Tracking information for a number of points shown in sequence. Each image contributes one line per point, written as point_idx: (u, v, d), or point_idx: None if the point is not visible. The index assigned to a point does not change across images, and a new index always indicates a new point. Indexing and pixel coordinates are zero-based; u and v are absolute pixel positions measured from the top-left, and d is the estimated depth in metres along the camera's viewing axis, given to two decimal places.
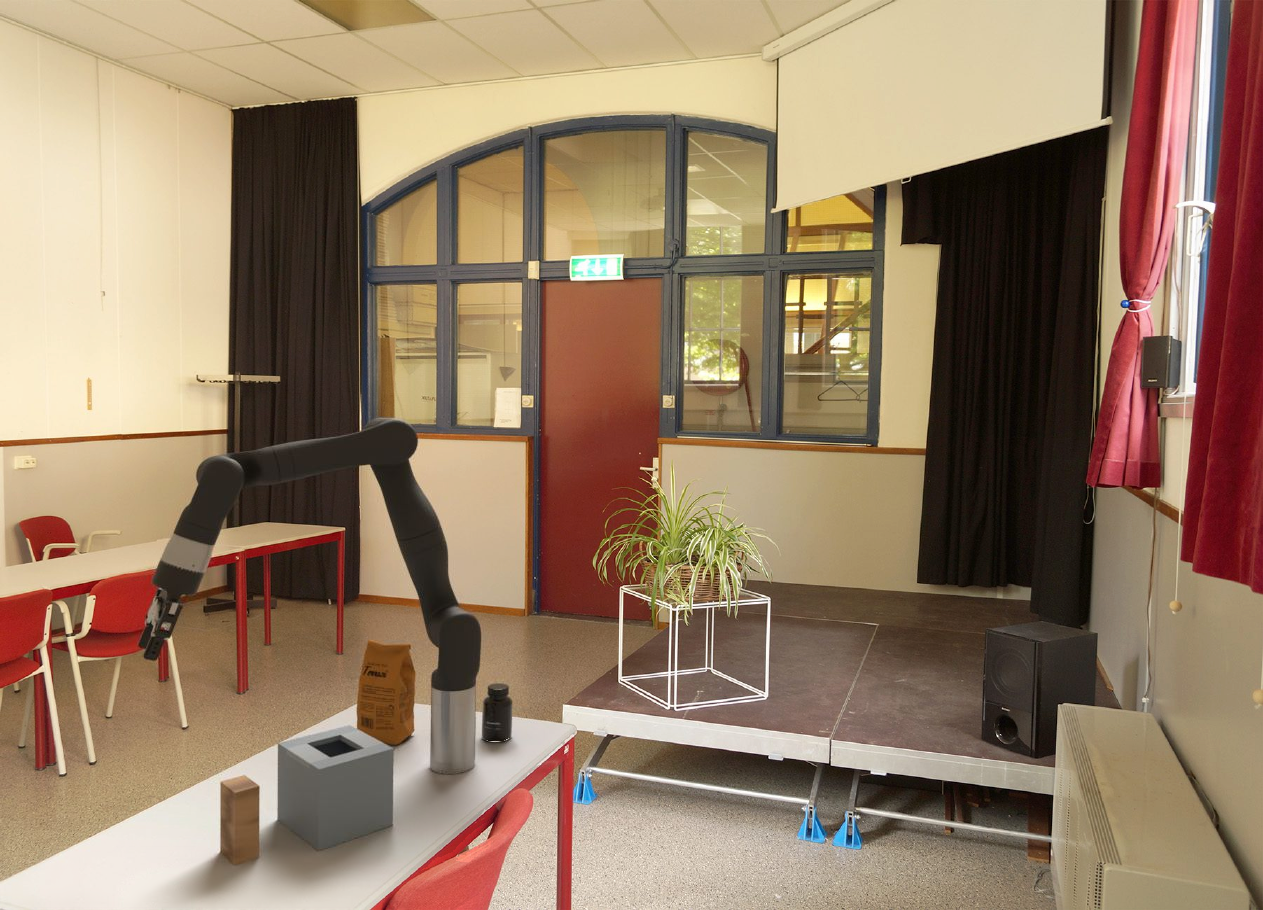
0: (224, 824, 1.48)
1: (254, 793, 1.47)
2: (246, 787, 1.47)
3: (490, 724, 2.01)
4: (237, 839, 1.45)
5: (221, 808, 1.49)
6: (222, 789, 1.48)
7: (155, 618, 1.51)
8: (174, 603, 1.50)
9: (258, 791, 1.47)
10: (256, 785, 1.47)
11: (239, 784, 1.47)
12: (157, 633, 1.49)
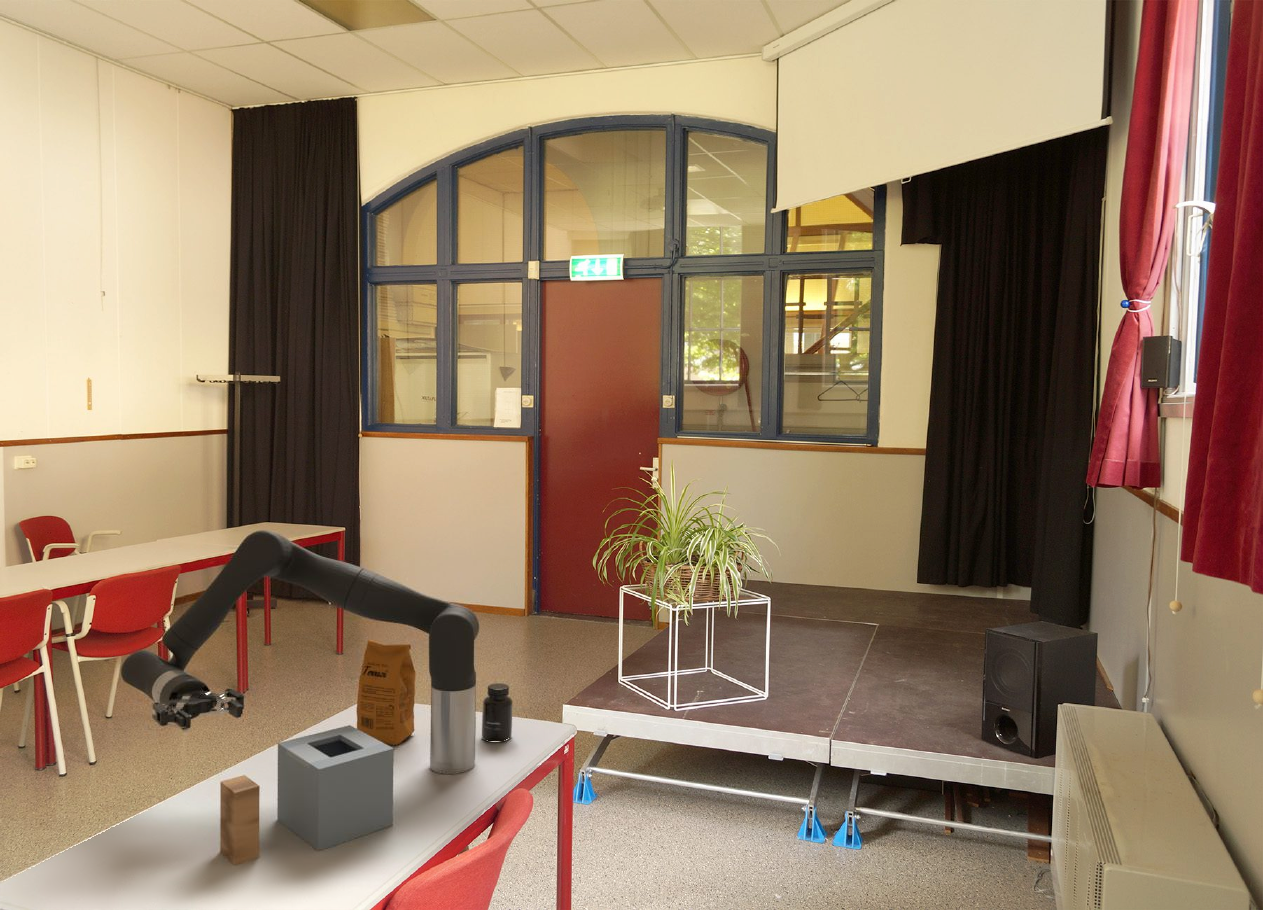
0: (224, 824, 1.48)
1: (254, 793, 1.47)
2: (246, 787, 1.47)
3: (490, 724, 2.01)
4: (237, 839, 1.45)
5: (221, 808, 1.49)
6: (222, 789, 1.48)
7: None
8: None
9: (258, 791, 1.47)
10: (256, 785, 1.47)
11: (239, 785, 1.47)
12: (160, 723, 1.54)
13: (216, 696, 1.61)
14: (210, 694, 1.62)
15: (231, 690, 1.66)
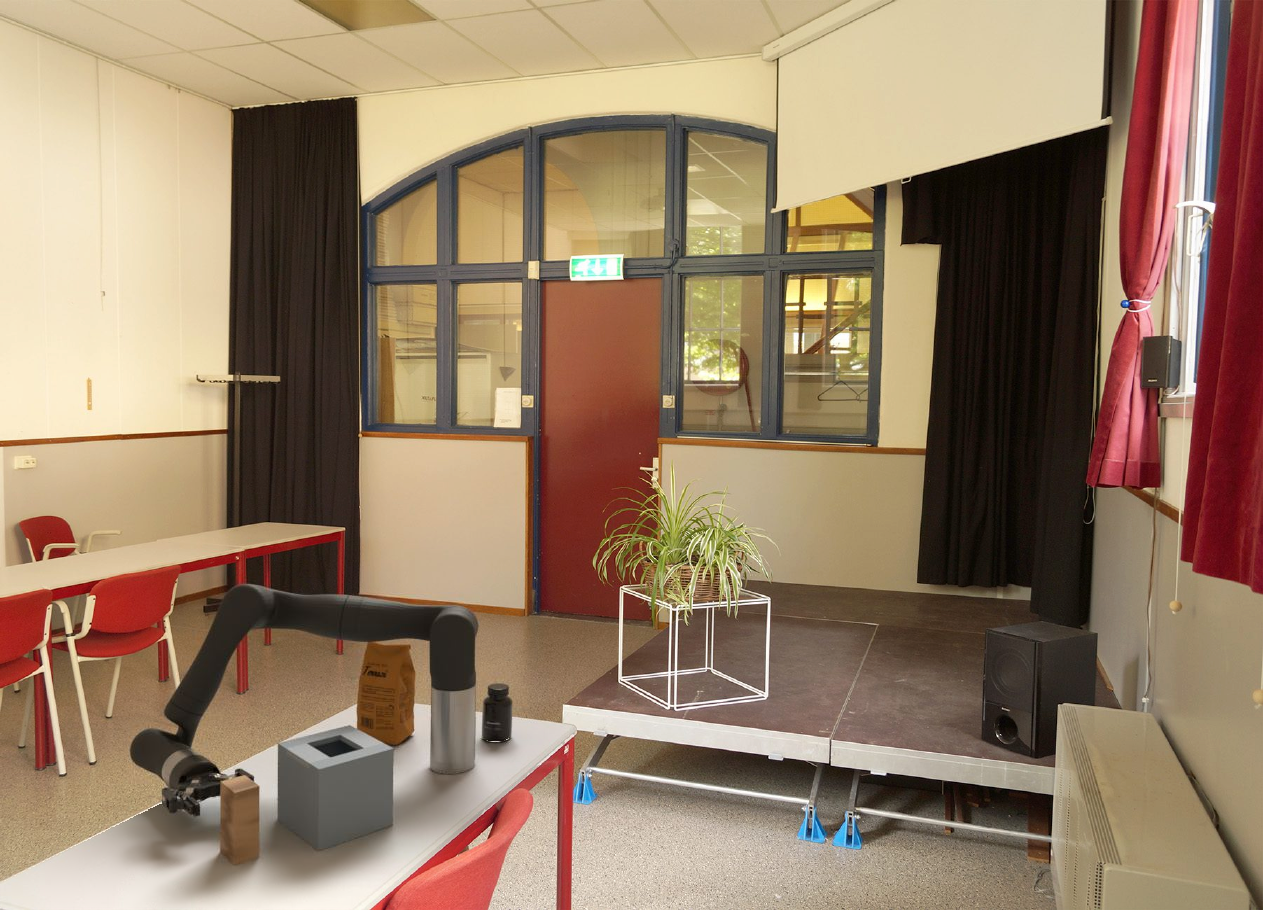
0: (224, 824, 1.48)
1: (254, 793, 1.47)
2: (246, 787, 1.47)
3: (490, 724, 2.01)
4: (237, 839, 1.45)
5: (221, 808, 1.49)
6: (222, 789, 1.48)
7: None
8: (162, 796, 1.55)
9: (258, 791, 1.47)
10: (256, 785, 1.47)
11: (239, 785, 1.47)
12: (170, 811, 1.52)
13: (226, 779, 1.59)
14: (220, 777, 1.60)
15: (241, 770, 1.64)
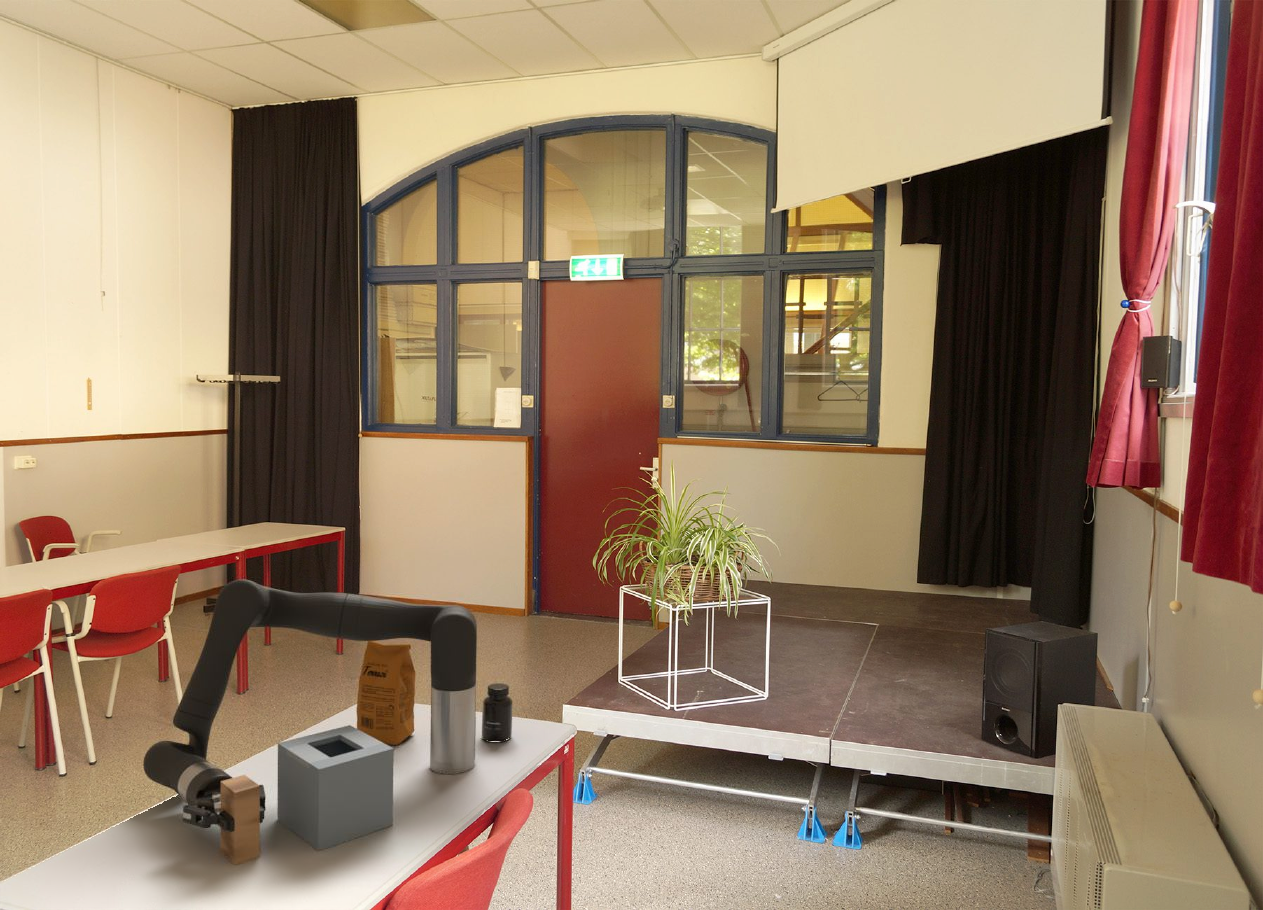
0: None
1: (254, 792, 1.47)
2: (246, 787, 1.47)
3: (490, 724, 2.01)
4: (238, 839, 1.45)
5: None
6: (222, 789, 1.48)
7: None
8: None
9: (258, 791, 1.47)
10: (256, 785, 1.47)
11: (239, 784, 1.47)
12: (203, 826, 1.46)
13: None
14: None
15: (261, 787, 1.57)
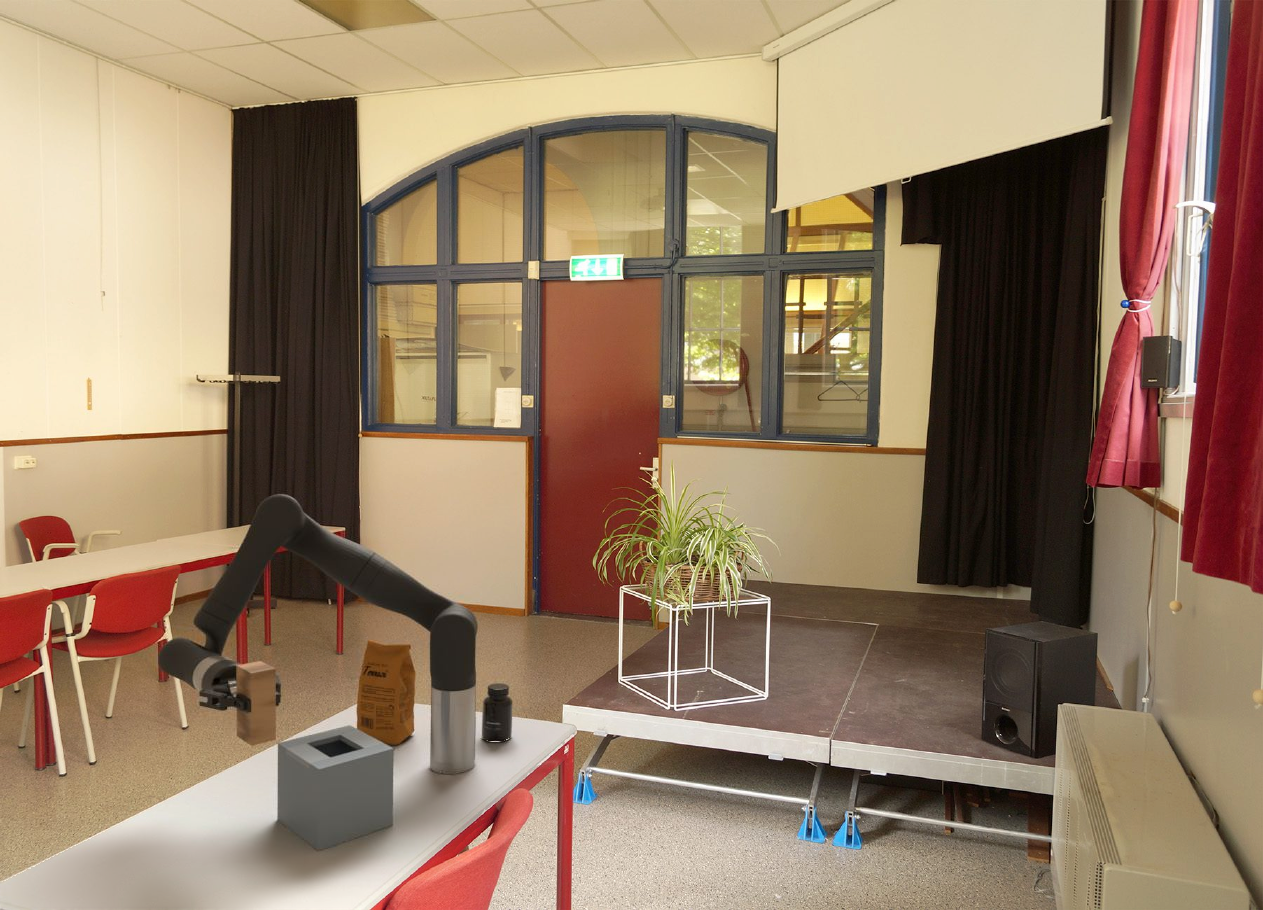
0: None
1: (270, 675, 1.47)
2: (262, 669, 1.47)
3: (490, 724, 2.01)
4: (254, 720, 1.46)
5: None
6: (238, 673, 1.49)
7: None
8: (199, 698, 1.49)
9: (274, 674, 1.48)
10: (272, 668, 1.48)
11: (255, 667, 1.48)
12: (220, 708, 1.47)
13: None
14: None
15: (276, 677, 1.57)
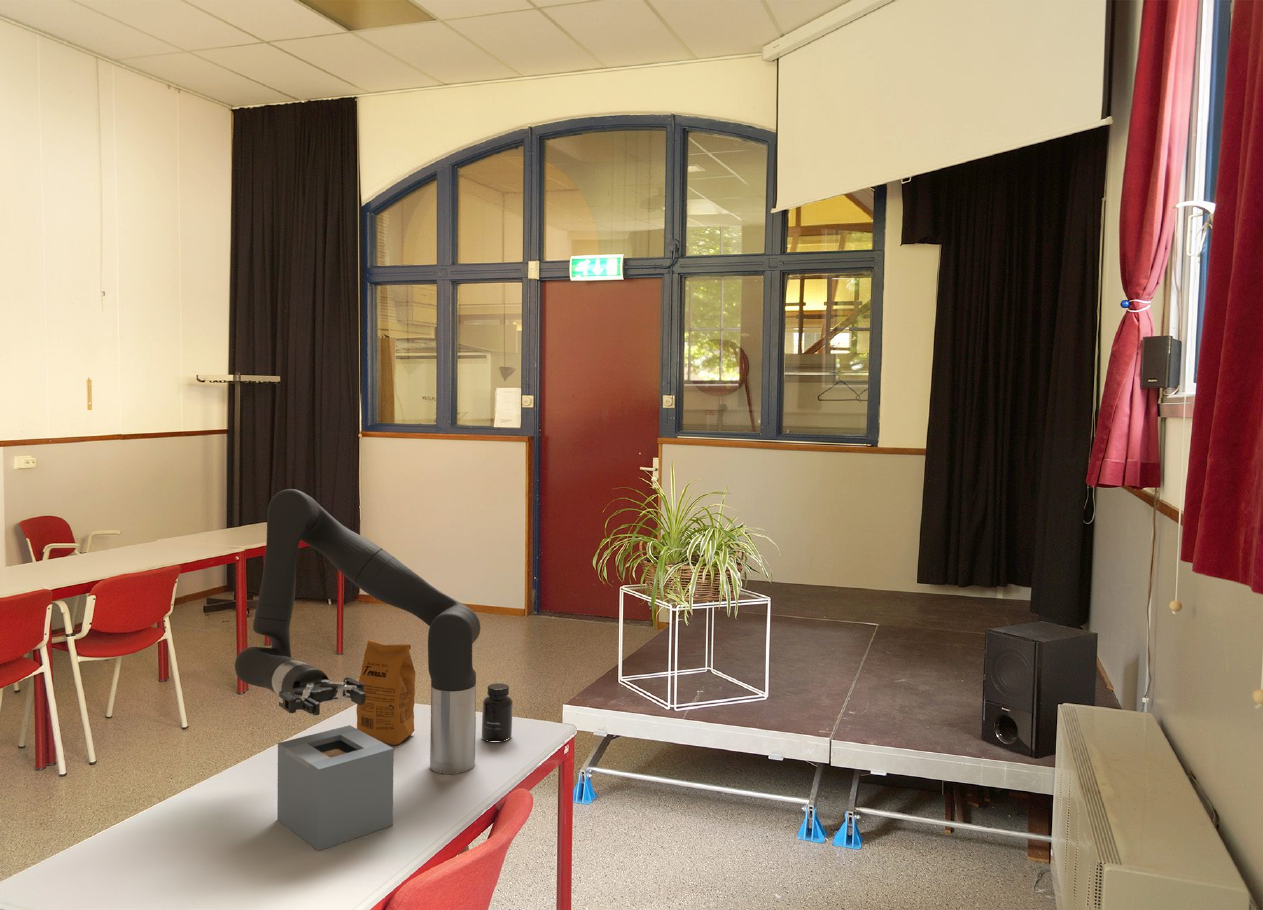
0: None
1: None
2: None
3: (490, 724, 2.01)
4: None
5: None
6: None
7: None
8: (279, 698, 1.61)
9: None
10: None
11: None
12: (289, 711, 1.57)
13: (338, 684, 1.65)
14: (332, 683, 1.65)
15: (350, 679, 1.69)
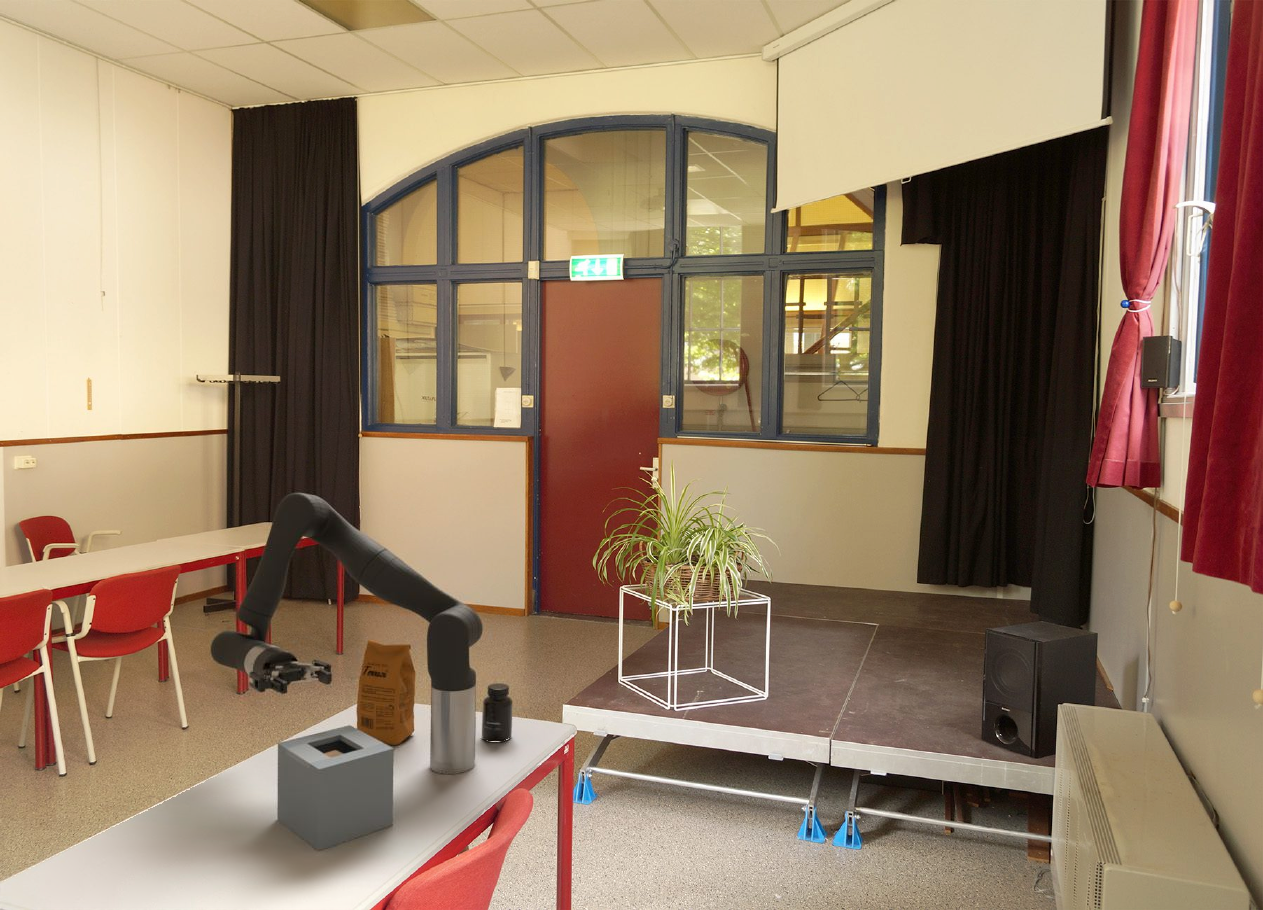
0: None
1: None
2: None
3: (490, 724, 2.01)
4: None
5: None
6: None
7: None
8: (249, 679, 1.70)
9: None
10: None
11: None
12: (259, 690, 1.66)
13: (306, 665, 1.74)
14: (300, 664, 1.74)
15: (318, 660, 1.78)
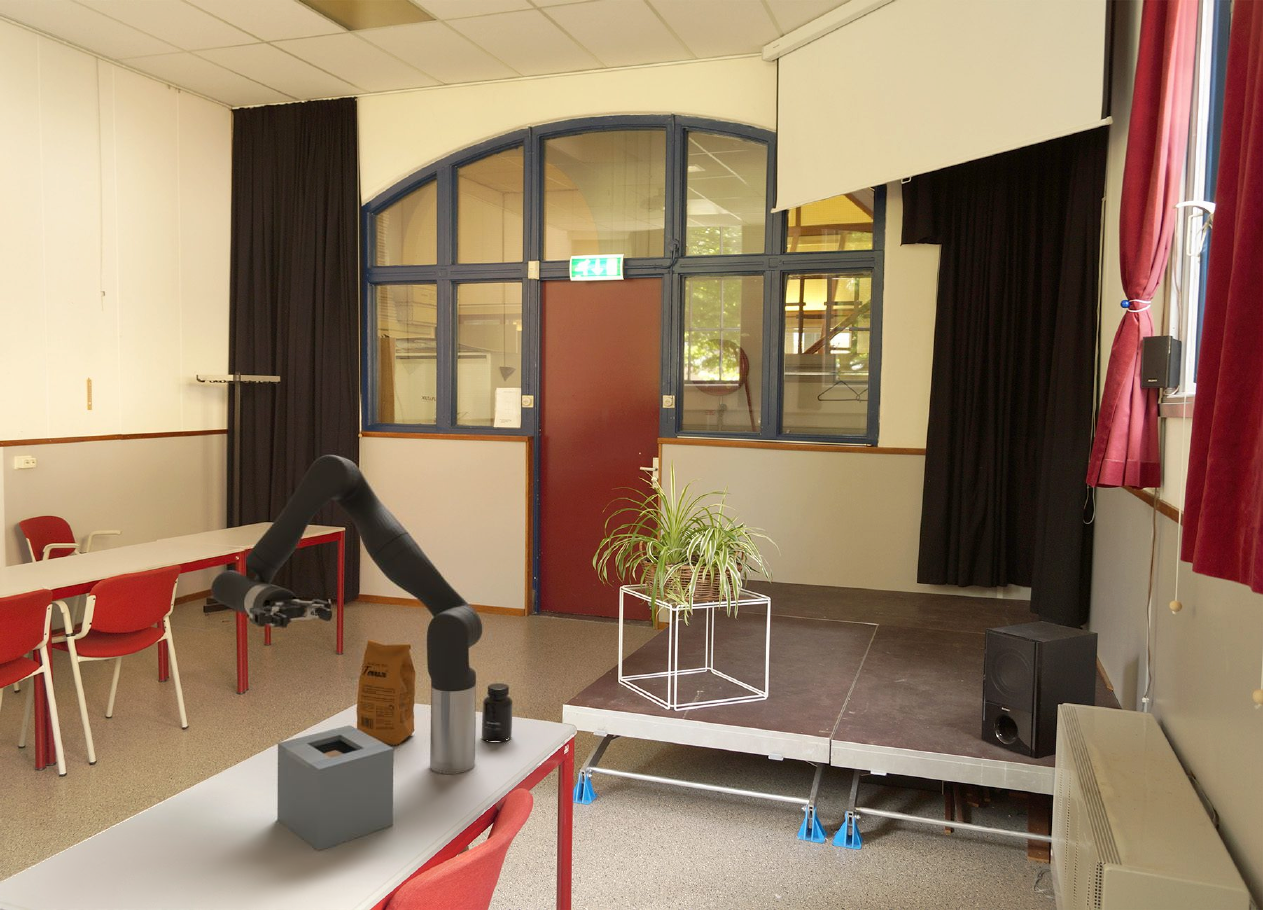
0: None
1: None
2: None
3: (490, 724, 2.01)
4: None
5: None
6: None
7: None
8: (249, 614, 1.69)
9: None
10: None
11: None
12: (259, 624, 1.66)
13: (306, 603, 1.73)
14: (300, 602, 1.74)
15: (318, 600, 1.78)
